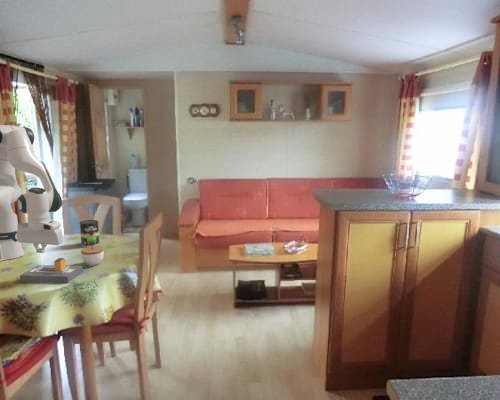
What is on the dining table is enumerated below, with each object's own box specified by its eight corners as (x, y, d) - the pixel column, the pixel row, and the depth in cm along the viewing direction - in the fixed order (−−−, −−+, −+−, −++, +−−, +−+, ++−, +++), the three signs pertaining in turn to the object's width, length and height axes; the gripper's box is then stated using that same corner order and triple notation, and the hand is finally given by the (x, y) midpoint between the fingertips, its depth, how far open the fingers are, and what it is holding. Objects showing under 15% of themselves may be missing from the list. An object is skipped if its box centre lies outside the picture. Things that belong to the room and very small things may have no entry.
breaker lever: (55, 271, 168) (53, 260, 167) (59, 268, 172) (58, 257, 171) (61, 272, 168) (60, 260, 167) (66, 268, 172) (65, 257, 171)
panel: (20, 281, 165) (19, 272, 164) (38, 271, 178) (37, 262, 177) (68, 282, 164) (67, 273, 163) (82, 271, 177) (82, 263, 176)
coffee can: (101, 245, 219) (99, 222, 216) (82, 248, 213) (81, 224, 211) (98, 241, 227) (96, 218, 225) (79, 243, 222) (78, 221, 219)
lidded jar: (78, 263, 188) (77, 246, 186) (98, 258, 196) (97, 241, 194) (88, 269, 181) (86, 250, 179) (108, 263, 189) (107, 246, 187)
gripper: (12, 223, 165) (14, 253, 168) (55, 226, 164) (57, 256, 166) (22, 220, 171) (23, 248, 174) (64, 223, 170) (65, 251, 173)
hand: (40, 252), depth 170 cm, fingers closed
